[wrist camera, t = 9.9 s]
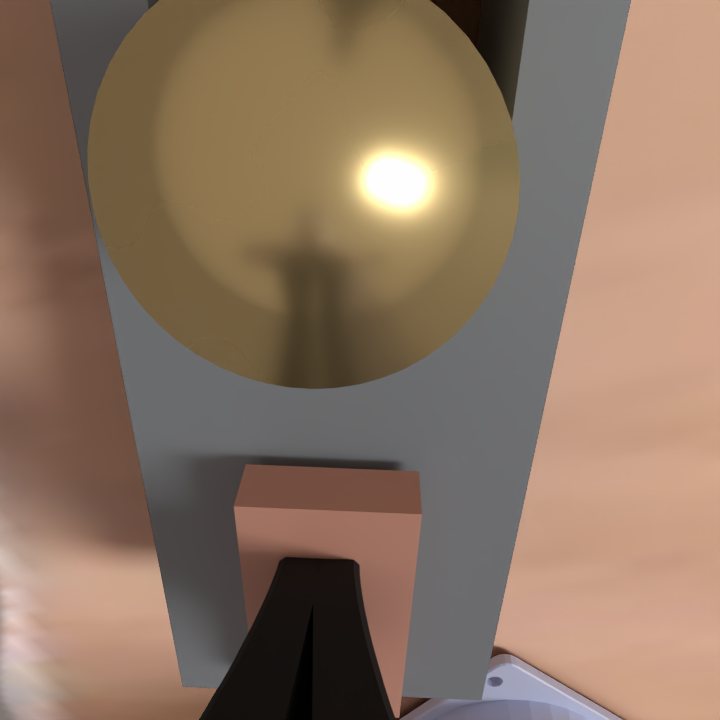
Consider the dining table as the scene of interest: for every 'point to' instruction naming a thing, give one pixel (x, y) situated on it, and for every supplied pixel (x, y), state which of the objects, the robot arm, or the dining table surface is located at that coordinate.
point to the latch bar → (337, 542)
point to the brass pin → (304, 182)
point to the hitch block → (386, 395)
